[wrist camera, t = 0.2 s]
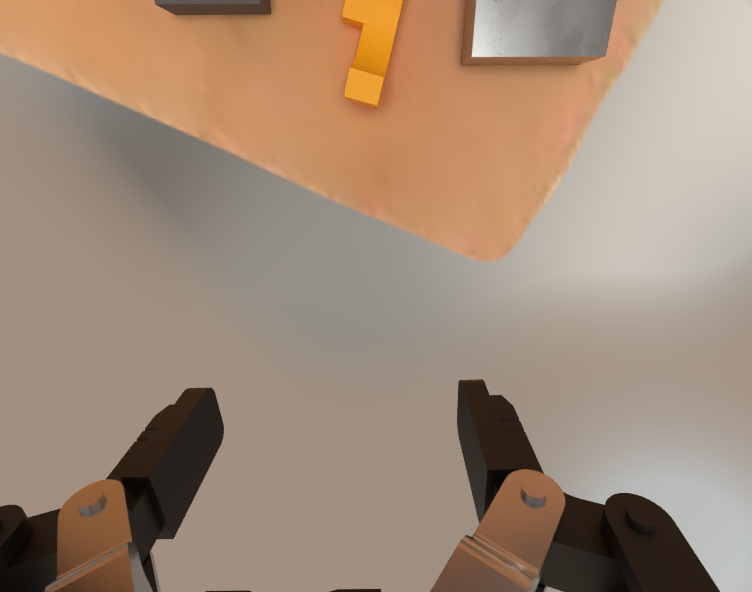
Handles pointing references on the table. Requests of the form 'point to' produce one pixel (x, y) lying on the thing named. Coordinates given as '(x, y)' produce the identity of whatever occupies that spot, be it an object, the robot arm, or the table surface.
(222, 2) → the grey rectangular frame
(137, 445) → the robot arm
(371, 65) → the pipe clamp
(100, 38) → the table surface
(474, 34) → the switch housing
